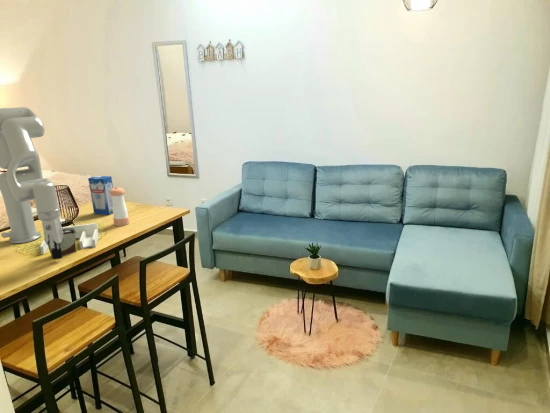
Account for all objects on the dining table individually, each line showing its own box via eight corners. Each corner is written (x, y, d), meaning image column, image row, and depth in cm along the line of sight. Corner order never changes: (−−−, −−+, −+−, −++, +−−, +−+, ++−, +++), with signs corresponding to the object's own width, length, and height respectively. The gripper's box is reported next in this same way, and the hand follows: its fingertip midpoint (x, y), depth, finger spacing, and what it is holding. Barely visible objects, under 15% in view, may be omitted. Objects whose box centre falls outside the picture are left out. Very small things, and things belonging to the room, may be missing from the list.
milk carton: (94, 214, 222) (87, 178, 216) (101, 210, 228) (96, 175, 222) (109, 215, 219) (103, 178, 213) (116, 211, 225) (111, 176, 219)
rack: (41, 254, 169) (38, 241, 167) (48, 241, 183) (45, 229, 181) (95, 246, 175) (93, 233, 174) (98, 235, 189) (96, 222, 188)
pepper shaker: (124, 226, 200) (118, 188, 195) (111, 226, 202) (105, 188, 196) (132, 221, 207) (127, 185, 201) (119, 221, 208) (113, 184, 203)
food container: (73, 247, 176) (68, 225, 173) (79, 250, 172) (75, 228, 169) (43, 257, 167) (38, 234, 164) (49, 260, 163) (44, 237, 160)
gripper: (56, 218, 151) (65, 263, 156) (62, 207, 164) (70, 249, 170) (33, 221, 149) (43, 267, 154) (42, 210, 162) (50, 252, 167)
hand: (57, 257), depth 162 cm, fingers closed
